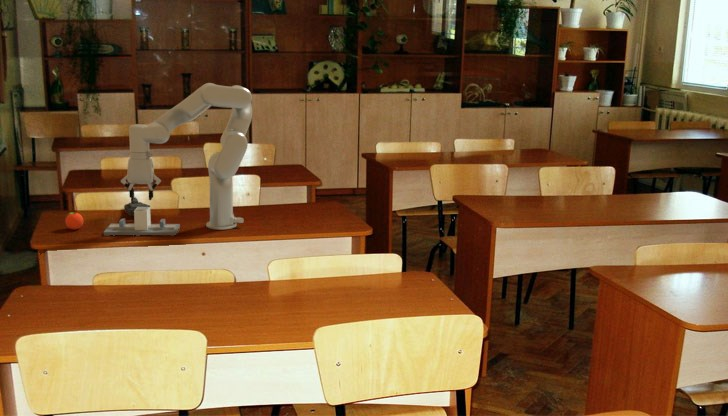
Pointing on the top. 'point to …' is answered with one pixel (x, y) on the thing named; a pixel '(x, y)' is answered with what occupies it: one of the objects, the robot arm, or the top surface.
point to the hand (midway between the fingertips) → (141, 199)
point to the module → (142, 218)
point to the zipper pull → (134, 206)
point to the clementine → (74, 221)
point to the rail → (161, 226)
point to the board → (141, 231)
